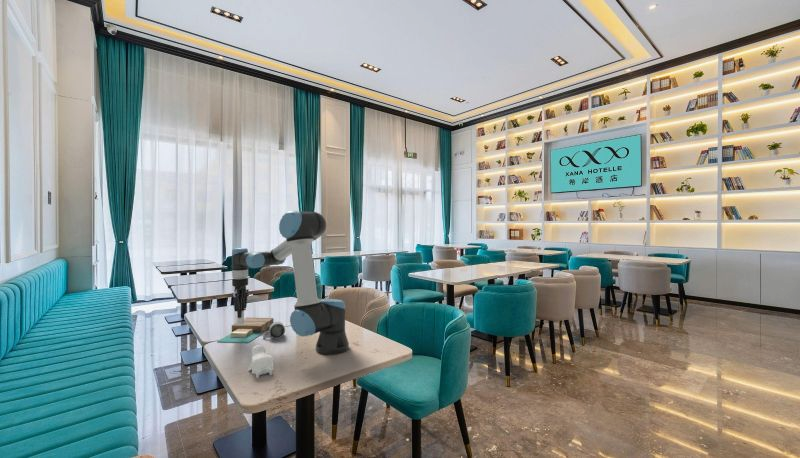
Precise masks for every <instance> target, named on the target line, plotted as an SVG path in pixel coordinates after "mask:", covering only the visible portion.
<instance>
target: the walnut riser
mask: <svg viewBox="0 0 800 458" xmlns="http://www.w3.org/2000/svg"><path fill="white" fill-rule="evenodd" d="M274 320H275V319H274V317H244V324H238V323H237V322H235V323H234V324H232V325H231V333H232V332H234V331H235V330H237V329H253V333H262V334H263V332H264V333H265V331H267V330H268V329H270V326H271V324H272V323H274V322H275V321H274Z"/></svg>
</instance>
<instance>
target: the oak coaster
mask: <svg viewBox="0 0 800 458" xmlns="http://www.w3.org/2000/svg"><path fill="white" fill-rule="evenodd" d="M252 333H253V329H237V330H235V331H234V332H232V331H231V332H230V334H231V337H247V336H249V335H250V334H252Z"/></svg>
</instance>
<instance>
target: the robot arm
mask: <svg viewBox="0 0 800 458" xmlns="http://www.w3.org/2000/svg"><path fill="white" fill-rule="evenodd" d="M278 230H279V234H280V235H281V237H282V238H284V239H285V240H284V241H283V242H281V243H280V244H278V245H277V246H275V247H274V248H273V249H271V250H270V251H269V250H268V251H253V252H250V251H249V249H248V248H247V247H235V248H233V249H232V250H231V270H232V271H231V274H232V276H231V277H232V281H231V282H232V283H231V284H232V287H234V292H233V293H231V297H232V302H233V309H234V312H237V315H236V318H237V319H236V320H237V321H236V323H238V324H244V319H245V311H246V310H247V306H248V305H247V304H248V296H249V289H247V286H249V268H251V269H258V268H261V267H269V266H270V267H271V266H280V265H283V264H284V263H285V261H286V260H287V258H288V257H289V256H291V258H292V259H291V260H292V268H293V275H294V283H295V284H294V285H295V292H296V300H297V301H296V303H294V305H293V307H294V310H293V311H292V312H291V314H290V316H289V323H290V327H291V328H292V329H291V330H292V331H293V332H294V333H295V334H296V335H298V336H300V337H308V336H313V335H314V334H318V333H319V334H318V337H317V340H316V344H315V352H317V353H319V354H321V355H338V354H343V353H345V352H347V351H348V350H349V348H350V345H349V344H350V343H349V340H348V337H347V334H346V303H345V301H344V300H342V299H336V298H321V299H320V298H319V297H318V291H317V283H316V275H315V268H314V267H315V266H314V258H313V250H312V243H313V242H314V241H316V240H317V239H319V238H320V237H321V236H322V235H324V234H325V232H326V230H327V221H326V218H325V217H324V216H323V215H322V214H320V213H319V212H316V211H304V210H303V211H302V210H300V211H299V210H293V211H292V210H291V211H287V212H285V213H284V214H283V215H282V216H281V218H280V221H279V226H278Z"/></svg>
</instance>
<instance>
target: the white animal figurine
mask: <svg viewBox="0 0 800 458" xmlns="http://www.w3.org/2000/svg"><path fill="white" fill-rule="evenodd" d="M251 349H252V350H251V361H250V362H251V364H250V365H249V366H248V368H247V371H248V372H251V374H254V375H255V378H256V379H259V377H260V375H261V376H262V375H265V374H269V376H273V371H274V367H275V365H274V364H275V363H274V357H272V355H271V354H269V353H268V352H266V349H265V347H264V345H262V344H261V345H260V344H259V345H255V346H253V347H252V348H251Z"/></svg>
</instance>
